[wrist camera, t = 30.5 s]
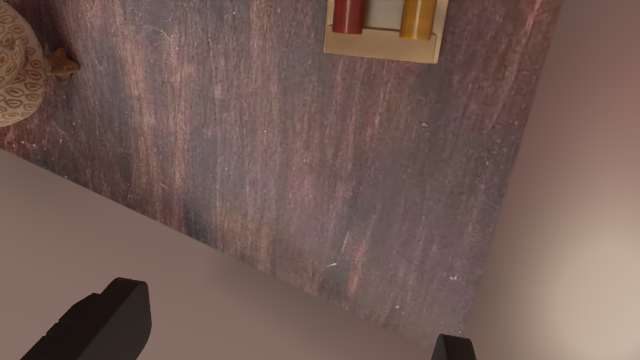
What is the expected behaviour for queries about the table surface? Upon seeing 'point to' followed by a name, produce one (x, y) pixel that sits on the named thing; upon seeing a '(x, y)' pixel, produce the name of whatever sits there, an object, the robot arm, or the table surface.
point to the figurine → (25, 67)
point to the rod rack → (386, 29)
